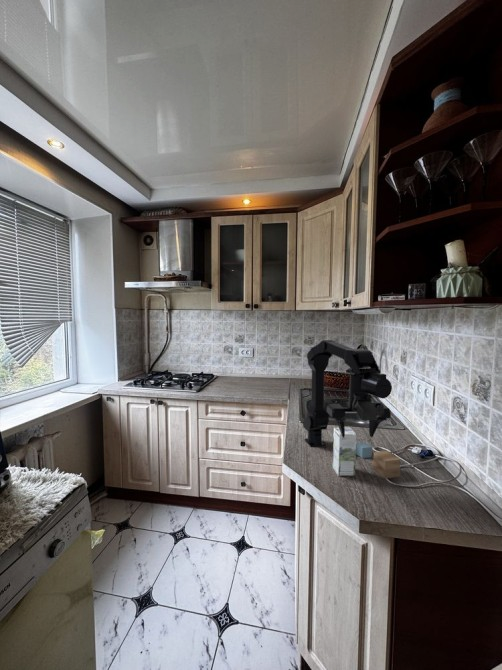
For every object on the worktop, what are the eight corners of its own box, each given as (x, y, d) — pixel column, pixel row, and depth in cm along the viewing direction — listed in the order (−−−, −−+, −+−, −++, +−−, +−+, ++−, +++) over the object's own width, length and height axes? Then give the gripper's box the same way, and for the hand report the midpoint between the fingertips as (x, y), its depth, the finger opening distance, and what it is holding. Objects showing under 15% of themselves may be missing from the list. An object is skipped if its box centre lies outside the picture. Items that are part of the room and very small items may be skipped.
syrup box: (348, 466, 92) (349, 426, 92) (355, 476, 86) (356, 433, 86) (332, 467, 92) (333, 426, 91) (338, 477, 86) (339, 433, 85)
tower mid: (373, 461, 91) (373, 452, 91) (387, 459, 92) (387, 451, 92) (384, 469, 86) (385, 460, 86) (399, 468, 87) (399, 459, 87)
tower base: (372, 469, 91) (372, 460, 91) (386, 467, 93) (387, 458, 93) (384, 479, 86) (384, 470, 85) (400, 477, 87) (400, 468, 87)
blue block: (355, 453, 102) (355, 443, 102) (364, 452, 103) (364, 442, 103) (362, 458, 98) (362, 447, 98) (371, 457, 99) (371, 446, 99)
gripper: (339, 396, 75) (337, 449, 76) (403, 396, 76) (400, 449, 77) (326, 386, 86) (325, 432, 87) (382, 386, 87) (380, 432, 88)
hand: (357, 436), depth 85 cm, fingers open, 9 cm apart
